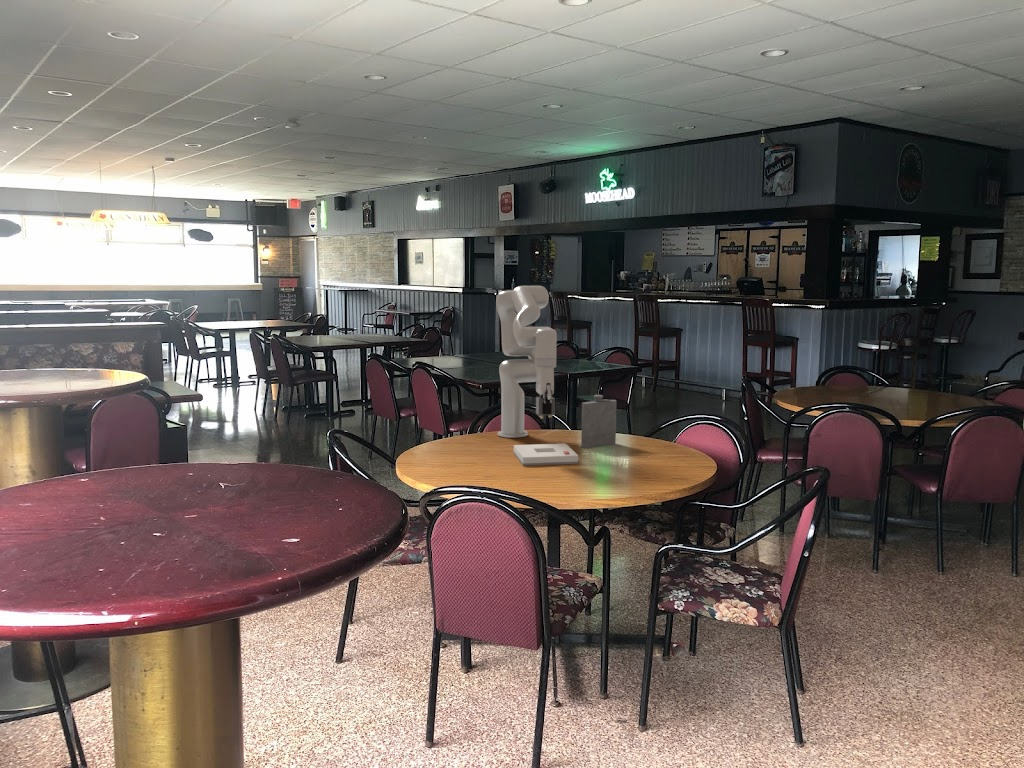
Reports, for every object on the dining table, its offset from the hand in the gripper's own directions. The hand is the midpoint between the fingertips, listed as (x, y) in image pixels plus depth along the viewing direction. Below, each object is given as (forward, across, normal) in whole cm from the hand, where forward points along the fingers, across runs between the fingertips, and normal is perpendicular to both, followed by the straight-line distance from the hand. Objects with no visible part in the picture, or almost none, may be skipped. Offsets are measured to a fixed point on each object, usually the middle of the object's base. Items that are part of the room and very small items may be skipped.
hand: (545, 412), depth 291 cm
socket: (+17, 0, 0) cm, 17 cm away
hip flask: (+17, -18, +25) cm, 35 cm away
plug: (+2, 0, 0) cm, 2 cm away
